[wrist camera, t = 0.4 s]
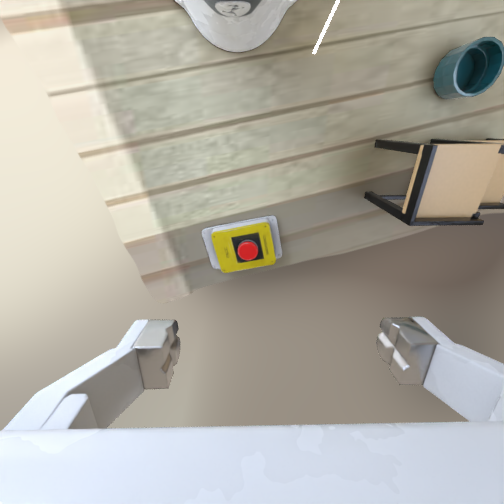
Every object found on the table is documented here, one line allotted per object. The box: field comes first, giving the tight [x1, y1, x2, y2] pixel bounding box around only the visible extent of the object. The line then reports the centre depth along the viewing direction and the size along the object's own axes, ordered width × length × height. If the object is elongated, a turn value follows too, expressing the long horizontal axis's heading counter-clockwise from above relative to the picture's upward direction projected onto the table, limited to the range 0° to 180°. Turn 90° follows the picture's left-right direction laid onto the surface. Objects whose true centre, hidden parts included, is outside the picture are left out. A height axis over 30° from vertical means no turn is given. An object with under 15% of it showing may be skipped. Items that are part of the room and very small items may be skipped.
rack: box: [364, 139, 504, 226], centre depth 37 cm, size 10×20×15 cm, turn 91°
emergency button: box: [202, 216, 282, 273], centre depth 48 cm, size 9×4×15 cm
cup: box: [433, 37, 504, 99], centre depth 36 cm, size 7×7×5 cm
